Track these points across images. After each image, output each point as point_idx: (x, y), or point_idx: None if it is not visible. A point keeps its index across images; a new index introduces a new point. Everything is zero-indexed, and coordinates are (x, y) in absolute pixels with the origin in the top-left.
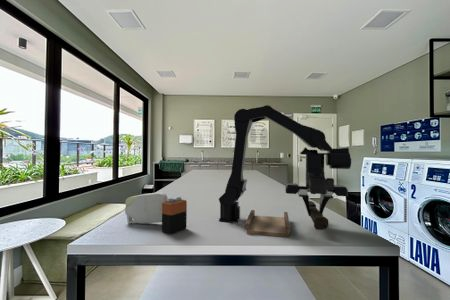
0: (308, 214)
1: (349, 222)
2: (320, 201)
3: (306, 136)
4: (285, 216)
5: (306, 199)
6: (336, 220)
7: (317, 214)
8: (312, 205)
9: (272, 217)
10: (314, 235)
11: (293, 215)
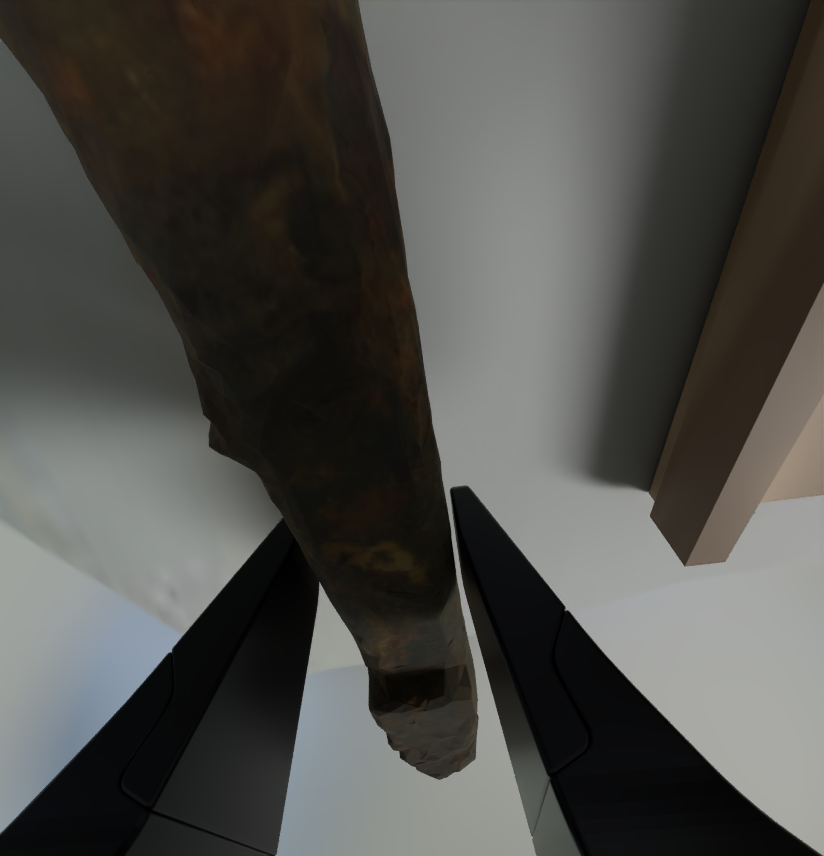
0: (472, 492)
1: (137, 600)
2: (263, 797)
3: None
4: (811, 392)
5: (661, 834)
6: None
7: (264, 205)
8: (417, 690)
9: (821, 473)
10: (372, 2)
11: None
